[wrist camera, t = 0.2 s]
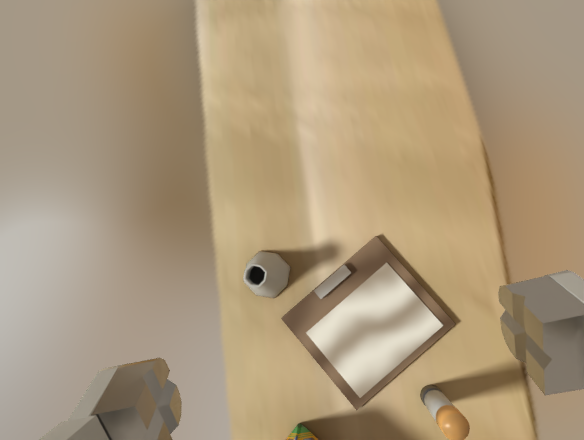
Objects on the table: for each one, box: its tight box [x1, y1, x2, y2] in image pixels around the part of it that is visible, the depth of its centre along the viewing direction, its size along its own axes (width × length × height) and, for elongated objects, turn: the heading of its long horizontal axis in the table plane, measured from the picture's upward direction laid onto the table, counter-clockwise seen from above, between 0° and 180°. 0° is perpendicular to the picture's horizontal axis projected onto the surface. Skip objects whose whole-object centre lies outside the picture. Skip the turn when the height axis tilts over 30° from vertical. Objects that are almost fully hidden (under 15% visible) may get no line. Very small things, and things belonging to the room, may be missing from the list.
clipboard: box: [281, 236, 455, 410], centre depth 61 cm, size 17×19×2 cm
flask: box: [243, 251, 290, 298], centre depth 59 cm, size 7×7×10 cm
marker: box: [420, 385, 470, 440], centre depth 54 cm, size 3×3×12 cm
